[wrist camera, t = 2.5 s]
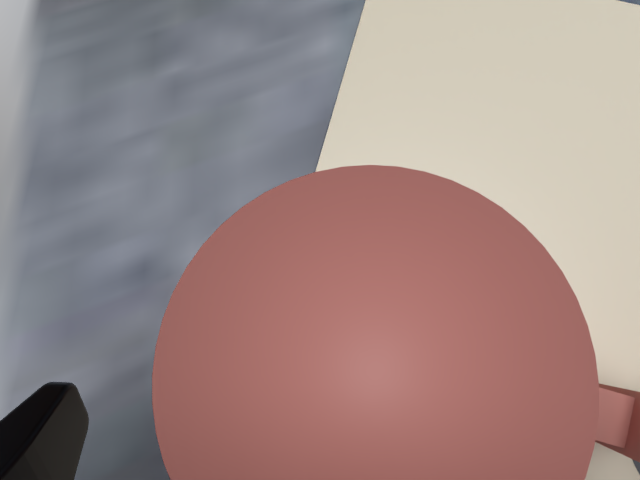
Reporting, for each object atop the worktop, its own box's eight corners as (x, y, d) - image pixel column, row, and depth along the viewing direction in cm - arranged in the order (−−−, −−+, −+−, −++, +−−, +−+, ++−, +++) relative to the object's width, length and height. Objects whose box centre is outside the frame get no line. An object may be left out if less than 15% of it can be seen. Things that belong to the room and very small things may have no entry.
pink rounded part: (640, 369, 17) (1820, 521, 3) (619, 472, 17) (1861, 1149, 3) (330, 283, 18) (226, 120, 4) (304, 378, 18) (92, 535, 4)
